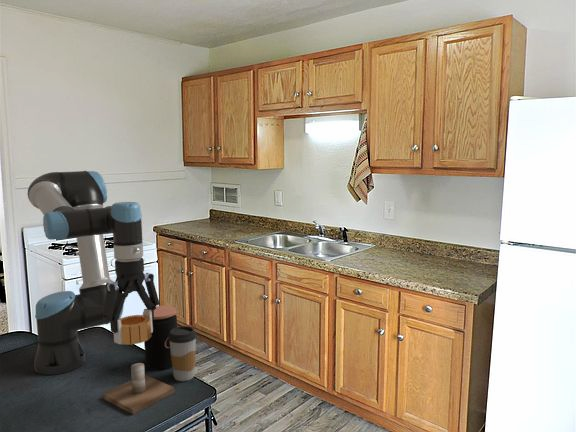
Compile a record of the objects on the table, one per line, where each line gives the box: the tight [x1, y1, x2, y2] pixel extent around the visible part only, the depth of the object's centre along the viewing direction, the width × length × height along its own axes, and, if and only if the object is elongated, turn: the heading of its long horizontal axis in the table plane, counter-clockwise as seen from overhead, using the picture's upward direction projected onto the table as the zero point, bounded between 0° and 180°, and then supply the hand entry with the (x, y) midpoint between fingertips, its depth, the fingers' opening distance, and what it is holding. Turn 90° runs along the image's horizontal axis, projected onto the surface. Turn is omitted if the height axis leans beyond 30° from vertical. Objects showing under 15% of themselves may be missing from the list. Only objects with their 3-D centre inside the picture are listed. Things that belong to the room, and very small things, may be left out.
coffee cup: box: [169, 325, 197, 382], centre depth 142 cm, size 8×8×15 cm
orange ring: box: [119, 314, 152, 346], centre depth 129 cm, size 9×9×5 cm
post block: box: [102, 362, 176, 416], centre depth 131 cm, size 14×14×9 cm
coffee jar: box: [142, 305, 178, 371], centre depth 151 cm, size 11×11×18 cm
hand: (134, 336), depth 129 cm, fingers closed on orange ring, 9 cm apart
